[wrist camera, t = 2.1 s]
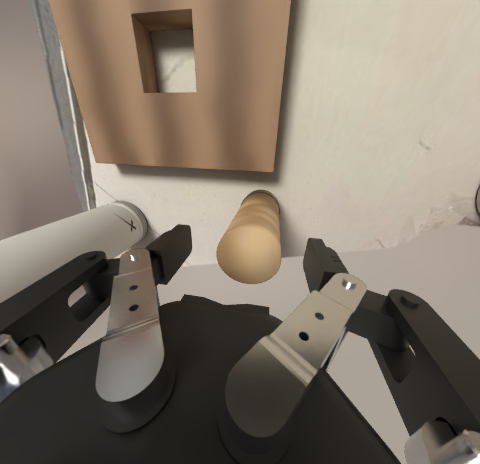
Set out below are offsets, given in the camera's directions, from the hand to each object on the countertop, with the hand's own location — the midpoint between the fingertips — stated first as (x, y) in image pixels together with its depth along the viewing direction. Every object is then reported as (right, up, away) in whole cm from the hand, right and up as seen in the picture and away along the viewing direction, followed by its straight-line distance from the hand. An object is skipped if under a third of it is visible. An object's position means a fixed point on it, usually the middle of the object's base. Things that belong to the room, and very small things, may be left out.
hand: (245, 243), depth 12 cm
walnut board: (-6, +17, +5) cm, 19 cm away
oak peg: (+2, +4, +10) cm, 11 cm away
